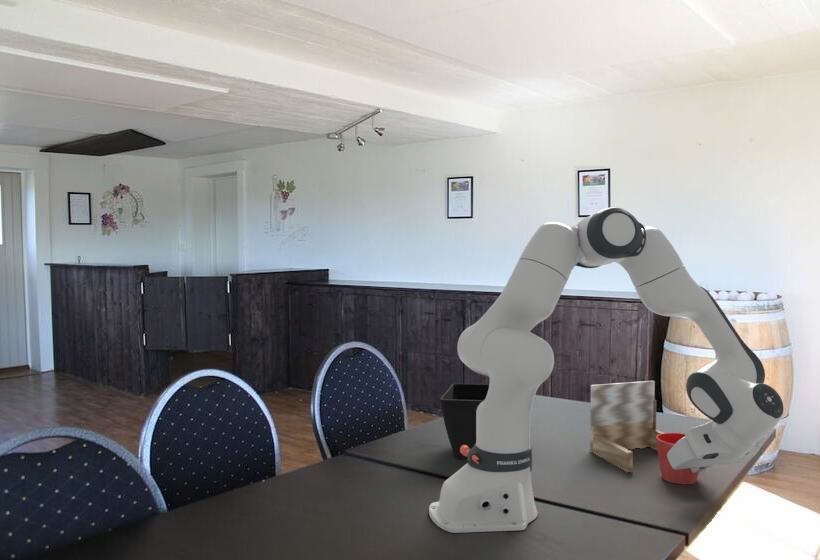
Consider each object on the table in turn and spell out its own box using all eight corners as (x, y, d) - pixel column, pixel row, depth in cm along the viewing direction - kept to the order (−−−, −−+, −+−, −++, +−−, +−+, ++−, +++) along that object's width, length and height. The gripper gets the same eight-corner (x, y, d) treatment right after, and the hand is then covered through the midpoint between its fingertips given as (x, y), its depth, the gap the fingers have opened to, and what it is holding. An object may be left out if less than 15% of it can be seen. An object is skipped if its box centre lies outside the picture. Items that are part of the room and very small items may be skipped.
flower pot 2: (695, 471, 168) (695, 432, 167) (710, 487, 157) (711, 446, 156) (650, 470, 169) (651, 431, 168) (662, 486, 158) (663, 445, 157)
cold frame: (627, 472, 167) (628, 399, 166) (590, 451, 184) (590, 385, 183) (694, 465, 172) (695, 394, 171) (652, 445, 189) (652, 380, 188)
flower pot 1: (439, 462, 176) (439, 397, 175) (452, 441, 194) (452, 382, 193) (514, 468, 171) (514, 401, 170) (520, 445, 189) (520, 385, 188)
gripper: (760, 422, 151) (728, 452, 161) (680, 429, 146) (652, 460, 156) (775, 448, 147) (741, 477, 157) (694, 456, 142) (664, 486, 152)
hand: (696, 469), depth 157 cm, fingers closed
